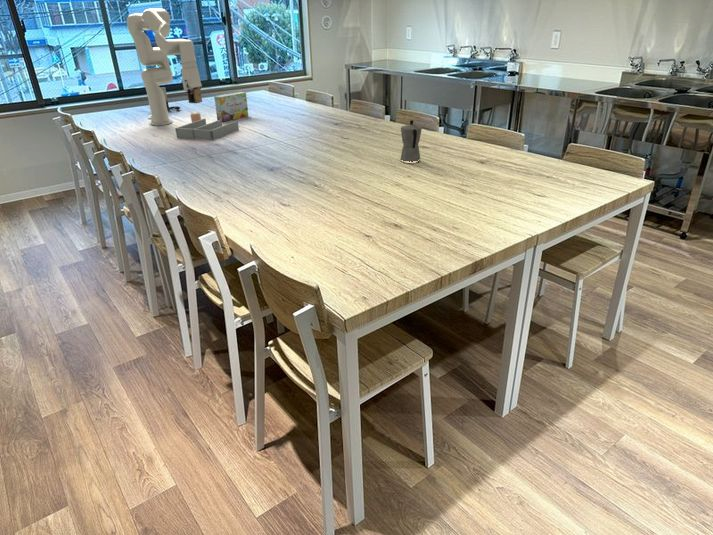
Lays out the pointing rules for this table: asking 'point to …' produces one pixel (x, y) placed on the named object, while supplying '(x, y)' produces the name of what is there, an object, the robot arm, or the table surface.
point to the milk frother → (167, 101)
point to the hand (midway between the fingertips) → (195, 100)
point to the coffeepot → (410, 142)
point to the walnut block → (196, 95)
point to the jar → (195, 116)
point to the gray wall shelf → (206, 130)
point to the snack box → (231, 106)
